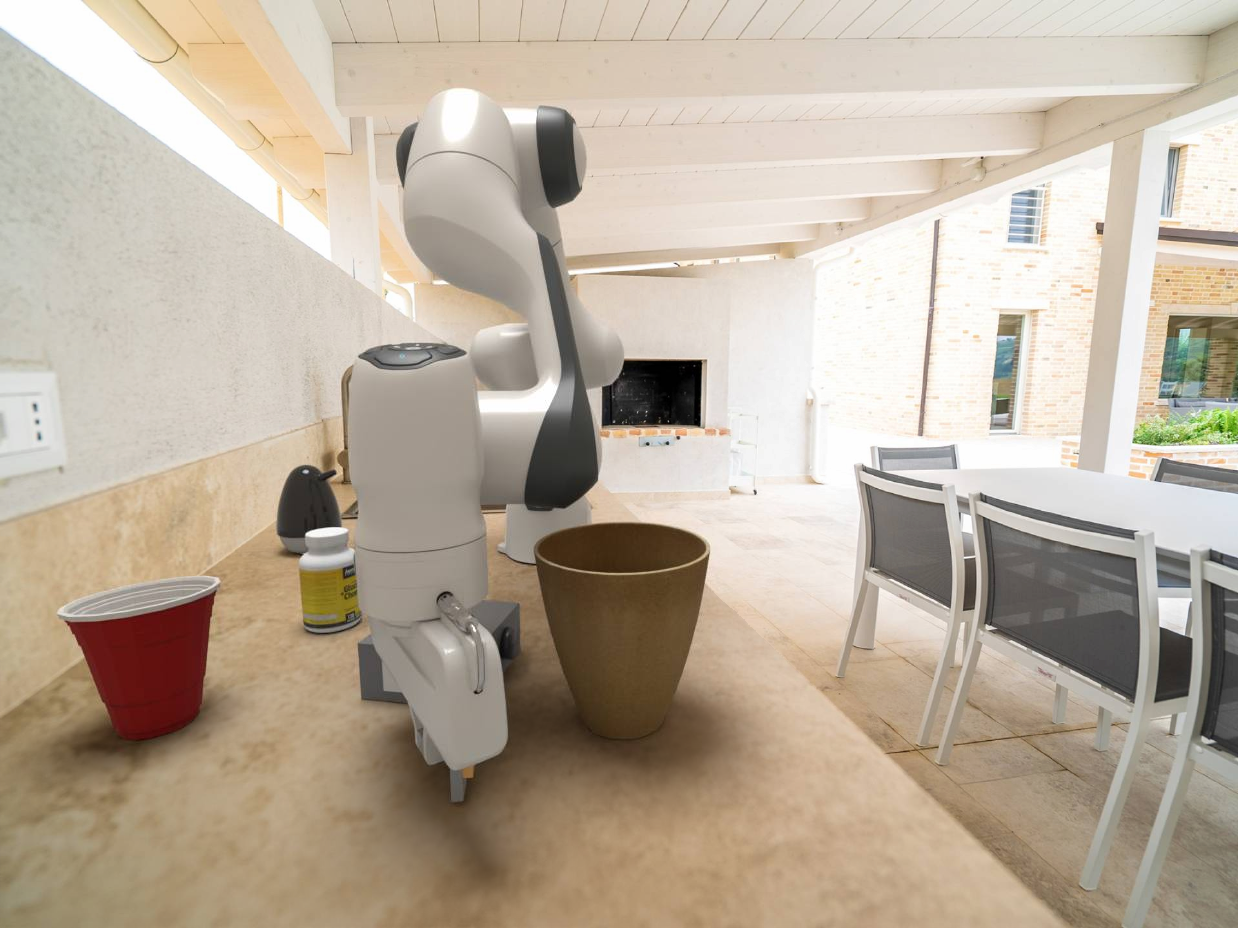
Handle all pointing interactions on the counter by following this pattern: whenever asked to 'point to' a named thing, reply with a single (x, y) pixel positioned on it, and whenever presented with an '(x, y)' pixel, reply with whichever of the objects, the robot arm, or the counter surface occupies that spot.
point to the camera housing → (490, 614)
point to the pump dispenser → (306, 506)
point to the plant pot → (622, 617)
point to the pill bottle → (328, 581)
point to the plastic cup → (147, 650)
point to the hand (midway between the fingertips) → (433, 752)
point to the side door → (459, 782)
